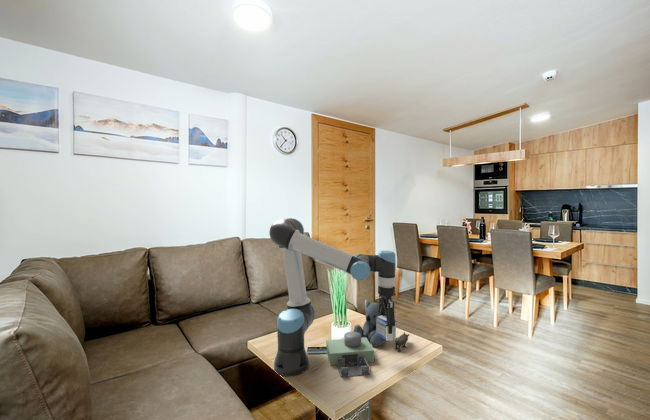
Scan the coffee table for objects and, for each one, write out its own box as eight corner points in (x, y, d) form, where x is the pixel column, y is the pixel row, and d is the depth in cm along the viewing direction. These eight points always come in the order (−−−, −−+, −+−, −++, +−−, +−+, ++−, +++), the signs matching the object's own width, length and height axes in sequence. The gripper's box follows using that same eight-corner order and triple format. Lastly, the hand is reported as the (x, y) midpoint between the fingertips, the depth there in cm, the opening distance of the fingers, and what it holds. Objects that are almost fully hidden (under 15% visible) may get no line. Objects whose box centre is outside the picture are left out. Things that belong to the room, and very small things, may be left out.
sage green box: (330, 365, 131) (329, 345, 130) (326, 350, 144) (326, 332, 144) (374, 361, 133) (373, 341, 133) (366, 347, 146) (366, 329, 146)
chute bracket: (340, 377, 121) (340, 369, 121) (336, 365, 130) (336, 357, 130) (369, 374, 123) (369, 366, 123) (364, 363, 132) (363, 355, 131)
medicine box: (375, 335, 135) (376, 316, 135) (382, 332, 138) (382, 314, 138) (389, 342, 129) (390, 322, 129) (396, 339, 132) (396, 319, 132)
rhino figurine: (412, 342, 151) (412, 330, 151) (400, 353, 140) (400, 340, 140) (404, 340, 153) (404, 328, 153) (392, 350, 143) (392, 338, 143)
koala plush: (351, 337, 157) (350, 301, 156) (372, 327, 169) (371, 294, 168) (377, 349, 144) (377, 309, 144) (398, 337, 156) (398, 301, 156)
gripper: (403, 292, 122) (402, 346, 123) (386, 279, 144) (386, 324, 144) (386, 293, 121) (385, 347, 122) (371, 279, 143) (371, 325, 144)
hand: (385, 335), depth 133 cm, fingers closed on medicine box, 9 cm apart
